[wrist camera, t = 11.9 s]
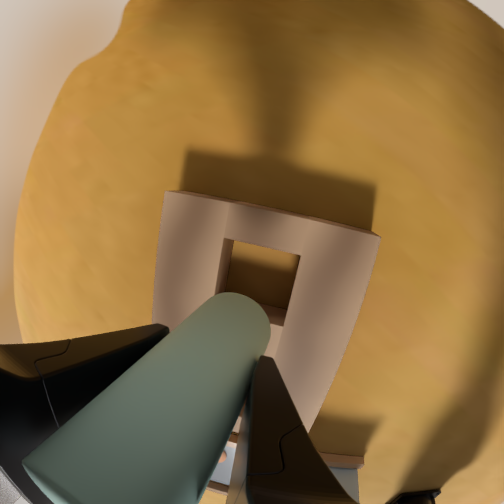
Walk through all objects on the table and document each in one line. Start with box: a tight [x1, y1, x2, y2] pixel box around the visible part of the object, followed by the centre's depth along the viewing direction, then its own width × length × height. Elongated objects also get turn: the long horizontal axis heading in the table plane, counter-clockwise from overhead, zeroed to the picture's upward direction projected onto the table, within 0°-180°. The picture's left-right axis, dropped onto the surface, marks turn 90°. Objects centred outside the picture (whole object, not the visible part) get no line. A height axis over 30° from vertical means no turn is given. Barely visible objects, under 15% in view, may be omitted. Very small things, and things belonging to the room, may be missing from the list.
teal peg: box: [22, 292, 271, 504], centre depth 7 cm, size 3×3×9 cm
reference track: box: [206, 434, 364, 495], centre depth 22 cm, size 20×11×1 cm, turn 79°
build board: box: [152, 191, 381, 433], centre depth 18 cm, size 12×16×2 cm
